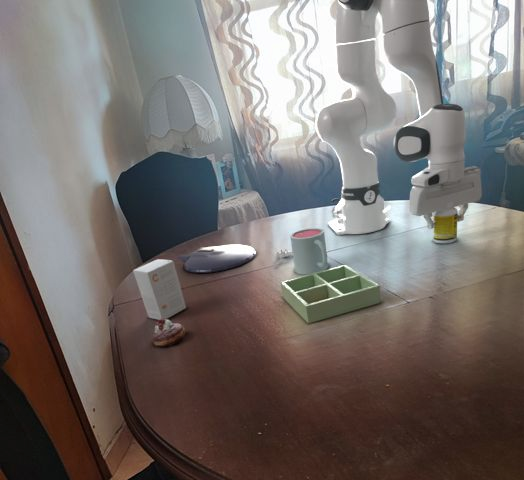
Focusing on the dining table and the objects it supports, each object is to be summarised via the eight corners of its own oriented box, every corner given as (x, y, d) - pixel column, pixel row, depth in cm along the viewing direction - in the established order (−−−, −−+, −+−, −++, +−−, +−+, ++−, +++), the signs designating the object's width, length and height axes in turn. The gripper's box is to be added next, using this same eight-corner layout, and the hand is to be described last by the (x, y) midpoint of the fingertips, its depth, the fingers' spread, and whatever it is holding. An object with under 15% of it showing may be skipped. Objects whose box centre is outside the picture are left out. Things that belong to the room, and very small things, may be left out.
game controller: (294, 253, 144) (293, 244, 143) (294, 265, 134) (293, 257, 133) (276, 255, 145) (275, 247, 144) (275, 268, 135) (274, 259, 134)
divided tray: (283, 297, 115) (280, 282, 113) (346, 279, 118) (345, 264, 116) (308, 323, 100) (306, 306, 98) (381, 302, 103) (380, 285, 101)
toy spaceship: (162, 267, 155) (159, 258, 153) (214, 244, 169) (212, 236, 167) (217, 277, 136) (215, 267, 135) (271, 250, 150) (269, 241, 149)
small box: (171, 305, 123) (157, 258, 117) (186, 308, 120) (173, 260, 113) (147, 317, 118) (132, 269, 112) (162, 321, 114) (147, 272, 108)
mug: (289, 269, 132) (284, 234, 127) (317, 260, 135) (313, 226, 130) (312, 281, 121) (308, 244, 116) (343, 271, 123) (339, 234, 119)
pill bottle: (458, 242, 127) (459, 202, 122) (434, 245, 129) (435, 205, 124) (454, 236, 133) (456, 196, 127) (432, 238, 134) (432, 199, 129)
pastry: (156, 334, 109) (150, 315, 106) (187, 328, 108) (182, 309, 106) (151, 350, 102) (144, 330, 99) (184, 344, 101) (178, 323, 99)
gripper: (472, 163, 126) (470, 214, 133) (405, 179, 123) (406, 230, 129) (488, 164, 121) (485, 217, 127) (418, 181, 117) (419, 235, 124)
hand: (445, 224), depth 128 cm, fingers open, 7 cm apart
